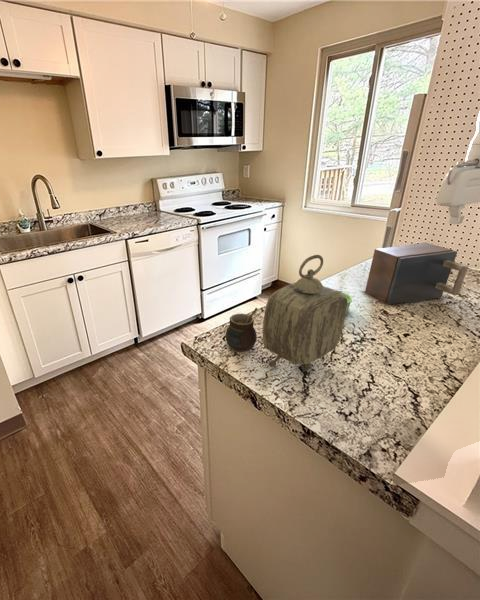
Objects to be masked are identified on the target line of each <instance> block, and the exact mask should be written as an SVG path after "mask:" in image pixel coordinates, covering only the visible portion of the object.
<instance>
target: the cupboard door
mask: <svg viewBox="0 0 480 600" xmlns="http://www.w3.org/2000/svg"><path fill="white" fill-rule="evenodd" d="M457 255H458V251H457V250H453V251H448V252H440V253H432V254H424V255H416V256H408V257H401V258H398V262H397V266H396V269H395V273H394V277H393V280H392V284H391V288H390V291H389V295H388V299H387V303H386V305H397V304H404V303H410V302H411V303H412V302H419V301H426V300H433V299H441V298H442V297H443V294H444V292H445V293H447V294H450V295H453V296H458V295H459V293H460V291H461V288H462V285H463V283H464V281H465V277H466V275H467V273H468V269H469V265H466V264H463V263H459V262H456V261H455V260H456V257H457ZM452 270H454V271H458V273H457V275H456V279H455V281H454V284H453V286H451V285H449V284H447V283H448V280H449V277H450V276H451V275H450V274H451V271H452Z"/></svg>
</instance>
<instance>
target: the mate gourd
mask: <svg viewBox="0 0 480 600" xmlns="http://www.w3.org/2000/svg"><path fill="white" fill-rule="evenodd" d="M258 310H259V308H258V307H255V309H253V311H252V312H251V314H246V313H235V314H232V315H231V316H229V325H228V326H227V329H226V330H225V336H224V337H225V342H226V344H227V345H228V347H229V348H230V349H232V350H234V351H235V352H241V353H242V352H243V353H244V352H247V351H250V350H252V349H253V348H254V346H255V344H256V343H257V338H258V336H257V335H258V334H257V331H256V329H255V327H254V325H255V324H254V323H255V319H254V317H253V316H254V315H255V314H256V313H257V311H258Z"/></svg>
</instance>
